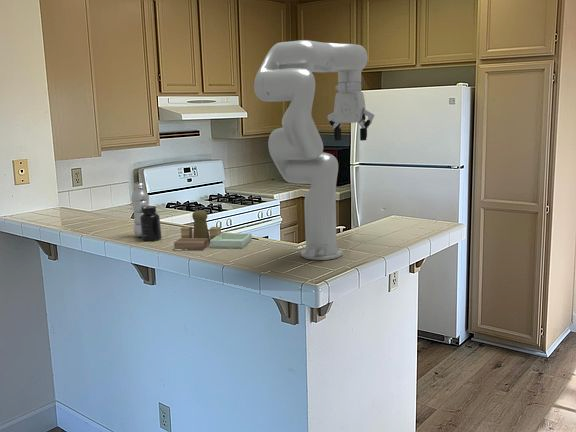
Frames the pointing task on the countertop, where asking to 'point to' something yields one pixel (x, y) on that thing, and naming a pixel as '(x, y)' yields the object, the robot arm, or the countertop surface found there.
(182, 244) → the wooden block
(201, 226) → the cork
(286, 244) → the countertop surface
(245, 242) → the tray
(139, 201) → the plastic bottle
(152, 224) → the supplement bottle
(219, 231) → the bench dogs
